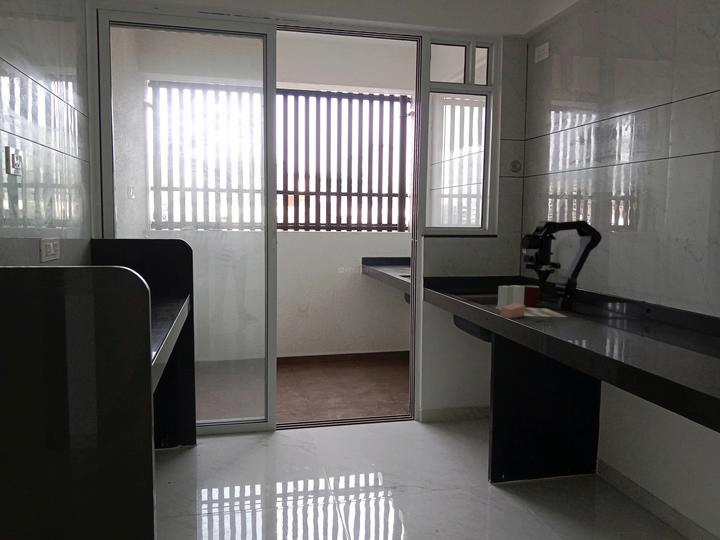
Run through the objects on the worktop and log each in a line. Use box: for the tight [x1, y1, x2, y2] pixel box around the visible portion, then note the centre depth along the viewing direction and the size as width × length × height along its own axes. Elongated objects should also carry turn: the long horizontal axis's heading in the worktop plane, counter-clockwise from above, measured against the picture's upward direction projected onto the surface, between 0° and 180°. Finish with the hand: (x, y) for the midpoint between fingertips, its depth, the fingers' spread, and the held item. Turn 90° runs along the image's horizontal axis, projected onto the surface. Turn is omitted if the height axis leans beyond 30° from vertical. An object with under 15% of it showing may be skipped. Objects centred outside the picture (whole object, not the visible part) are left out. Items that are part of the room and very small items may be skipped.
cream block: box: [510, 284, 525, 305], centre depth 250 cm, size 4×4×10 cm
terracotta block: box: [499, 303, 526, 319], centre depth 227 cm, size 4×4×10 cm
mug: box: [522, 284, 545, 307], centre depth 261 cm, size 10×8×10 cm
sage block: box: [496, 285, 514, 310], centre depth 247 cm, size 4×4×10 cm
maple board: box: [494, 306, 568, 318], centre depth 242 cm, size 24×23×1 cm
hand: (541, 285), depth 247 cm, fingers closed
